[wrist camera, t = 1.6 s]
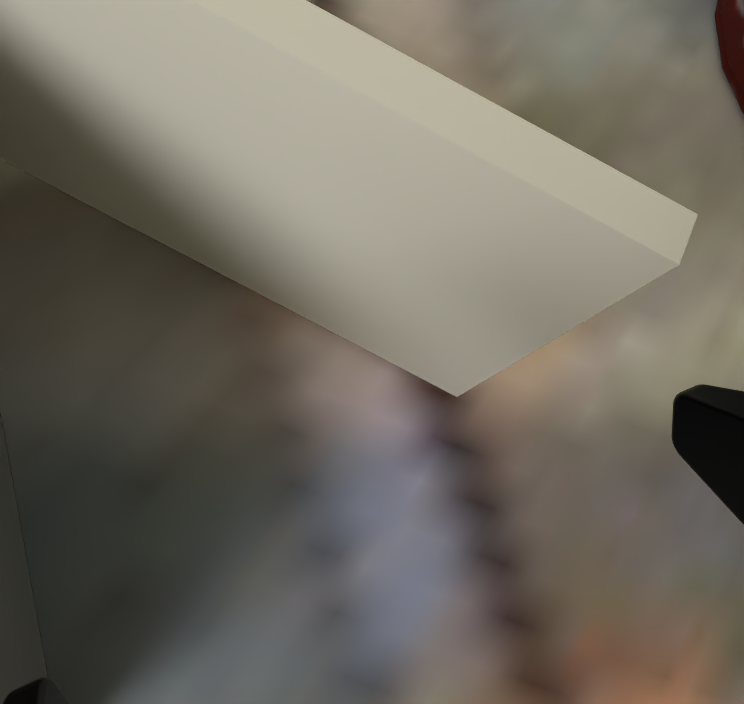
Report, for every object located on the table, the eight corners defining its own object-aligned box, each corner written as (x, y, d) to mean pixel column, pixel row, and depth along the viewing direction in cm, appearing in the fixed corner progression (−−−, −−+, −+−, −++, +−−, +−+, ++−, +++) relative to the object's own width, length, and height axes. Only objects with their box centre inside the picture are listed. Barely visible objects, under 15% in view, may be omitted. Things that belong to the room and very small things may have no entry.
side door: (482, 339, 23) (718, 157, 11) (456, 397, 22) (679, 264, 11) (2, 86, 22) (-263, -385, 11) (-39, 138, 21) (-368, -303, 10)
